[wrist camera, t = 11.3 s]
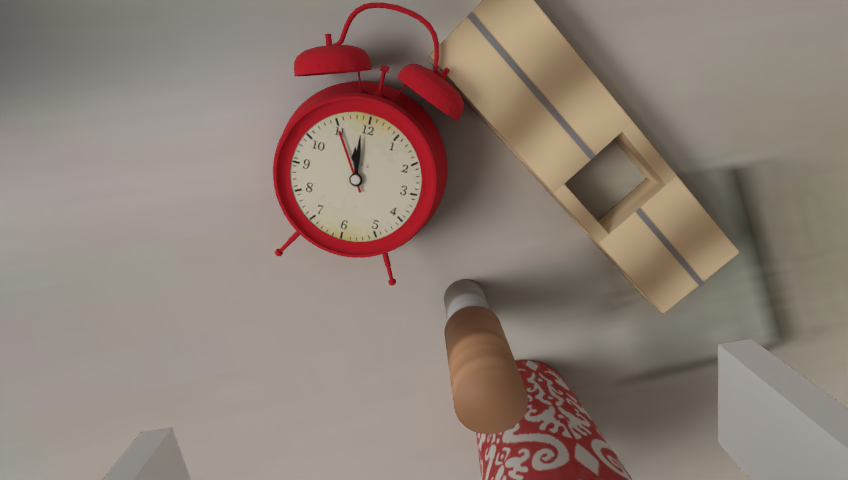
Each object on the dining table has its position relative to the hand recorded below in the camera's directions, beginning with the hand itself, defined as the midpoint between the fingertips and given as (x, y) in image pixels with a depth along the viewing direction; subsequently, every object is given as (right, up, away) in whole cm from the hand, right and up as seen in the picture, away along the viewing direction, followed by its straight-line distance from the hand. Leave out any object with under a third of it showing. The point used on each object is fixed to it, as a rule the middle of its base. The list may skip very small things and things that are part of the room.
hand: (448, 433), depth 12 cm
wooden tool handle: (+2, +1, +22) cm, 22 cm away
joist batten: (+9, +10, +20) cm, 24 cm away
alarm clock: (-4, +11, +19) cm, 22 cm away
